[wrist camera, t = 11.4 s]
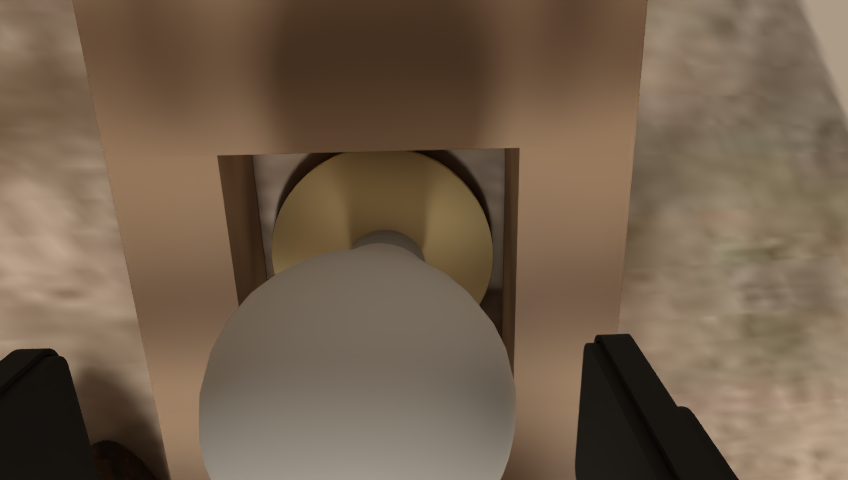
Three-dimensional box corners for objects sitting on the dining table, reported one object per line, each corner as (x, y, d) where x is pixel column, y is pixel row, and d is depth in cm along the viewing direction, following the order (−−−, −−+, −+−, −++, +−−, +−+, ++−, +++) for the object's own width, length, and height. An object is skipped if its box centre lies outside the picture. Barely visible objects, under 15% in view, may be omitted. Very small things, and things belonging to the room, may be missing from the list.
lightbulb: (409, 372, 21) (390, 712, 10) (258, 277, 20) (68, 553, 9) (520, 238, 19) (628, 485, 9) (362, 126, 18) (271, 256, 8)
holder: (116, -76, 17) (52, -98, 14) (618, -92, 16) (658, -117, 14) (217, 497, 23) (187, 561, 20) (576, 491, 23) (597, 555, 20)
